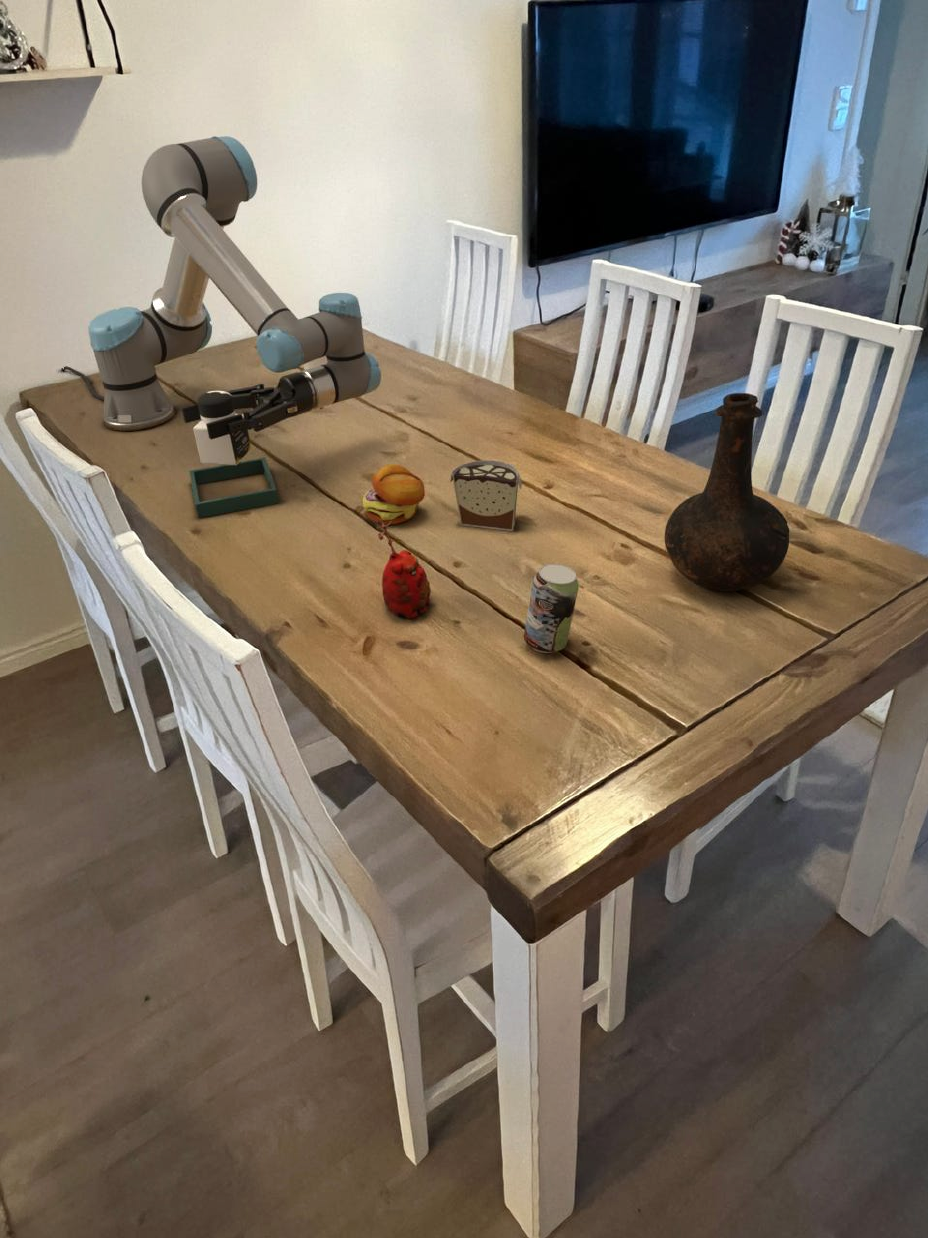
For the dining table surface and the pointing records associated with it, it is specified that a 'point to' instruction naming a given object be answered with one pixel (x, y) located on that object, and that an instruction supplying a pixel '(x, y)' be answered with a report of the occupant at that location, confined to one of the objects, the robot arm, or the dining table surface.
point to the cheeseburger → (393, 495)
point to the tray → (234, 501)
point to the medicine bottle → (225, 447)
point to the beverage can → (551, 608)
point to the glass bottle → (729, 514)
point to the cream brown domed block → (487, 494)
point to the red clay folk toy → (404, 582)
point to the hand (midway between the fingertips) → (195, 423)
